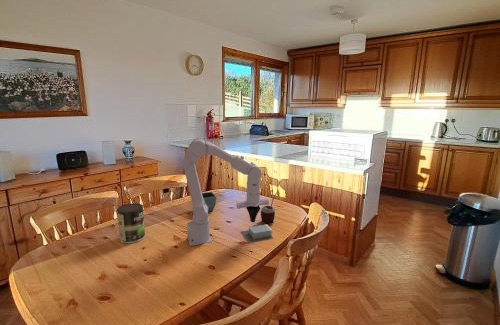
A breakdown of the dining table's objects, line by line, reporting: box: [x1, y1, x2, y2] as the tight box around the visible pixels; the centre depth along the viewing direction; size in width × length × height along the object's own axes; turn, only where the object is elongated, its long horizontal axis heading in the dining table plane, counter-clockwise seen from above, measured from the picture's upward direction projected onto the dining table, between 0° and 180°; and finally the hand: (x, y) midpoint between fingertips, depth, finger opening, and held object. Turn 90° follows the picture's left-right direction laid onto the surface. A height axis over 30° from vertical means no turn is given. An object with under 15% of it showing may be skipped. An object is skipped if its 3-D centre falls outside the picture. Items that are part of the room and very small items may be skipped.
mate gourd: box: [260, 192, 278, 225], centre depth 129 cm, size 8×8×15 cm
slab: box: [248, 223, 273, 239], centre depth 117 cm, size 3×6×9 cm
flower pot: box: [202, 191, 217, 212], centre depth 143 cm, size 9×9×9 cm
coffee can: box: [116, 202, 146, 244], centre depth 112 cm, size 10×10×14 cm
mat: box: [239, 229, 275, 244], centre depth 117 cm, size 12×11×1 cm
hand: (252, 221), depth 115 cm, fingers closed
